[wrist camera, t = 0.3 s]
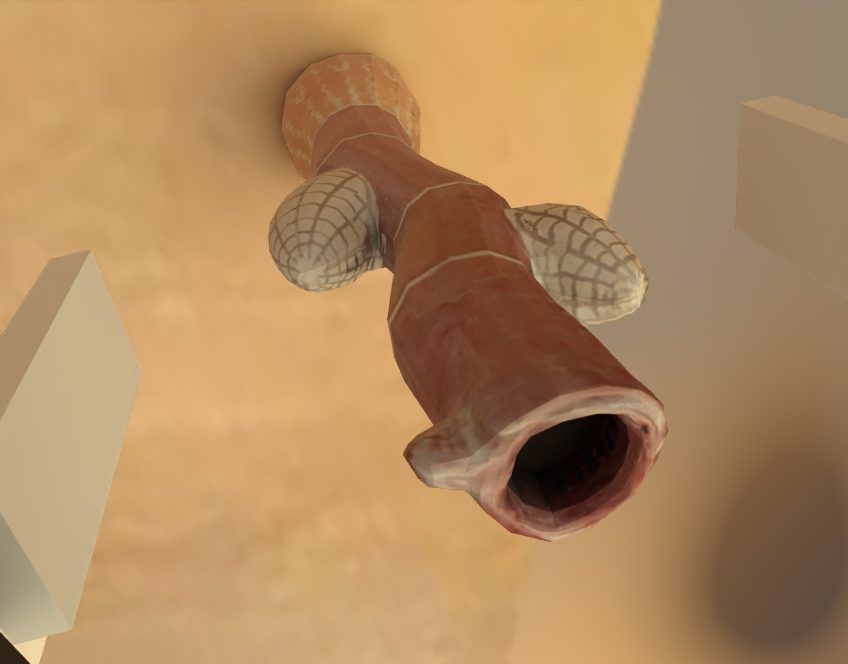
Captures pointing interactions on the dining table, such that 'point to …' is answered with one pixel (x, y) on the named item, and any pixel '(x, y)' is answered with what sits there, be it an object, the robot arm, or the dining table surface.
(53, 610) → the robot arm
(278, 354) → the dining table surface
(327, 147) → the vase
